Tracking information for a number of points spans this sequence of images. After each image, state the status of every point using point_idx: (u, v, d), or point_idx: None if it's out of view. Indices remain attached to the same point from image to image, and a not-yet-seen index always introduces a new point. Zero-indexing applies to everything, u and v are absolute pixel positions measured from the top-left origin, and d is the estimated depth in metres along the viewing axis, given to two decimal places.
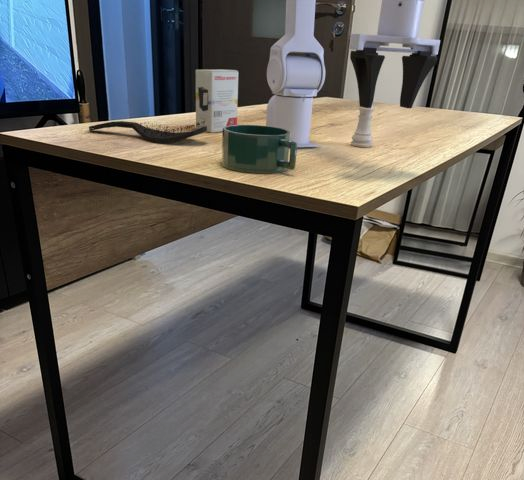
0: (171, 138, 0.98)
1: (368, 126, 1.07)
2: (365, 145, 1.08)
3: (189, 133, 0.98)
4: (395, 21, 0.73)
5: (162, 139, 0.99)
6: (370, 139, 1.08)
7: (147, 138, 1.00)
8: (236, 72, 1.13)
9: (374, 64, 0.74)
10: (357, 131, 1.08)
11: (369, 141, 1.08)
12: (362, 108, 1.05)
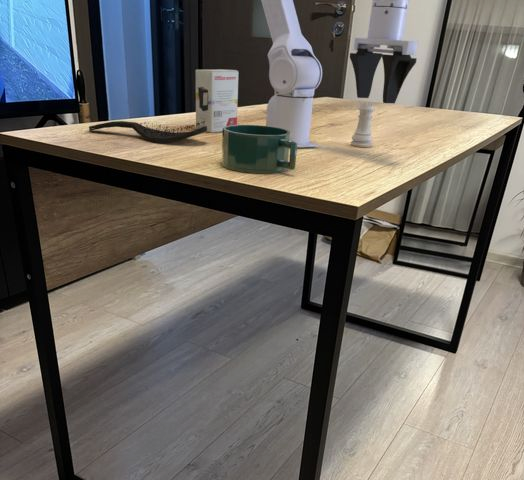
0: (171, 138, 0.98)
1: (368, 126, 1.07)
2: (365, 145, 1.08)
3: (189, 133, 0.98)
4: (403, 28, 0.87)
5: (162, 139, 0.99)
6: (370, 139, 1.08)
7: (147, 138, 1.00)
8: (236, 72, 1.13)
9: None
10: (357, 131, 1.08)
11: (369, 141, 1.08)
12: (362, 108, 1.05)
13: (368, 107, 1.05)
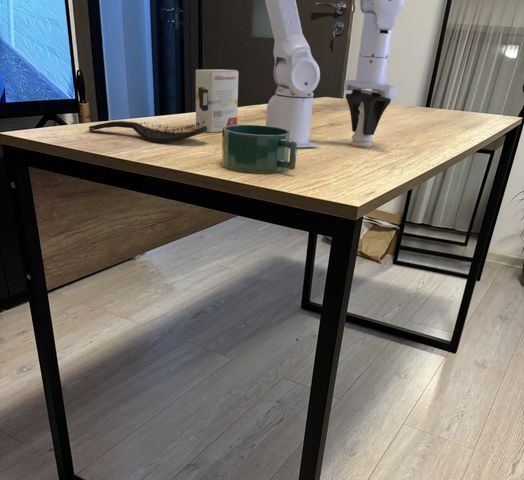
0: (171, 138, 0.98)
1: None
2: (365, 145, 1.08)
3: (189, 133, 0.98)
4: None
5: (162, 139, 0.99)
6: (370, 139, 1.08)
7: (147, 138, 1.00)
8: (236, 72, 1.13)
9: None
10: (357, 131, 1.08)
11: (369, 141, 1.08)
12: (362, 108, 1.05)
13: None
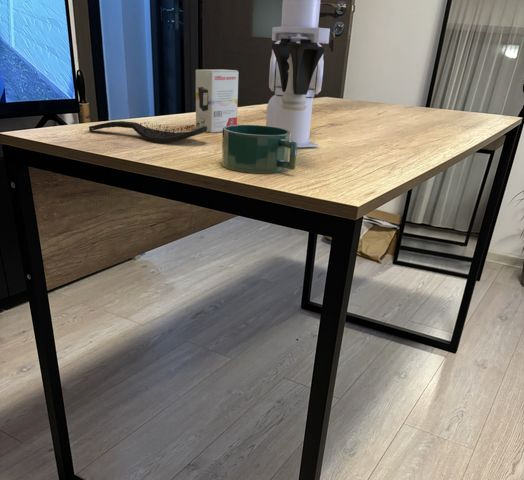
0: (171, 138, 0.98)
1: None
2: (297, 108, 0.87)
3: (189, 133, 0.98)
4: (318, 15, 0.81)
5: (162, 139, 0.99)
6: (303, 100, 0.87)
7: (147, 138, 1.00)
8: (236, 72, 1.13)
9: None
10: (287, 90, 0.87)
11: (302, 103, 0.87)
12: (291, 60, 0.84)
13: None
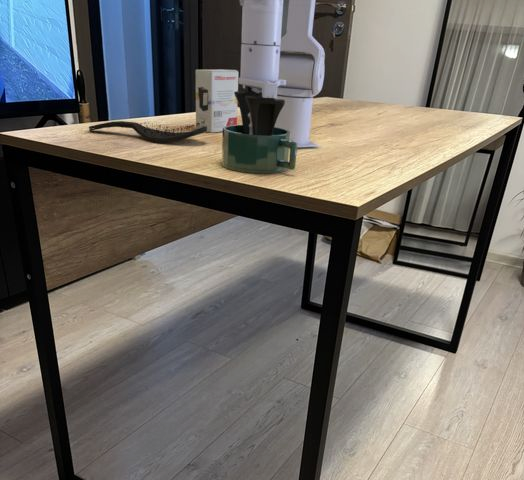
0: (171, 138, 0.98)
1: None
2: None
3: (189, 133, 0.98)
4: (275, 67, 0.78)
5: (162, 139, 0.99)
6: None
7: (147, 138, 1.00)
8: (236, 72, 1.13)
9: None
10: None
11: None
12: (250, 115, 0.82)
13: None
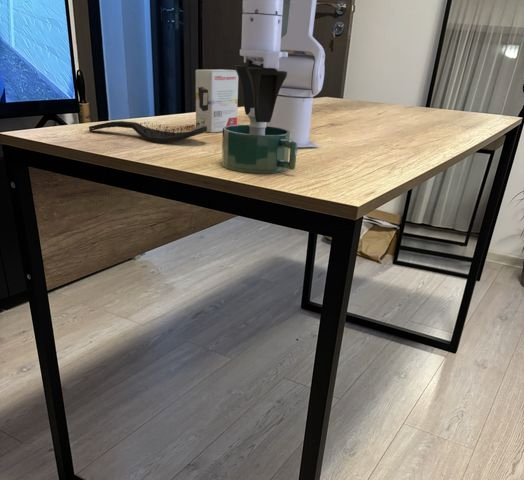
0: (171, 138, 0.98)
1: None
2: None
3: (189, 133, 0.98)
4: (277, 37, 0.76)
5: (162, 139, 0.99)
6: None
7: (147, 138, 1.00)
8: (236, 72, 1.13)
9: None
10: None
11: None
12: (250, 115, 0.82)
13: None
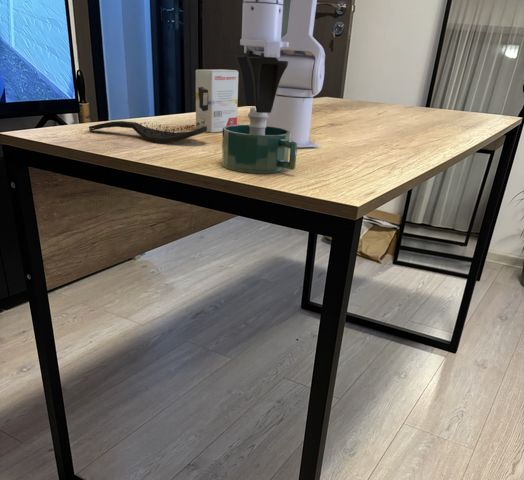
0: (171, 138, 0.98)
1: None
2: None
3: (189, 133, 0.98)
4: (278, 27, 0.75)
5: (162, 139, 0.99)
6: None
7: (147, 138, 1.00)
8: (236, 72, 1.13)
9: None
10: None
11: None
12: (250, 115, 0.82)
13: (256, 114, 0.81)
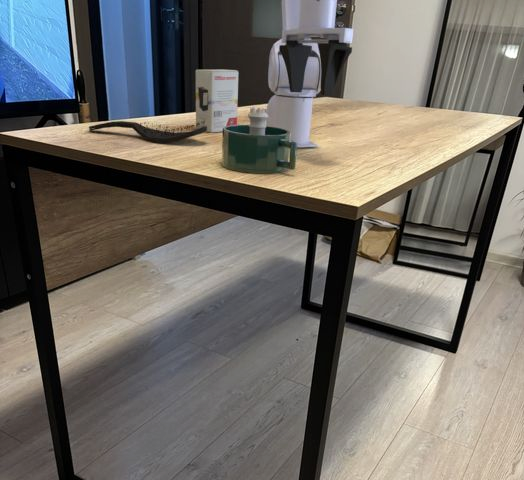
0: (171, 138, 0.98)
1: None
2: None
3: (189, 133, 0.98)
4: None
5: (162, 139, 0.99)
6: None
7: (147, 138, 1.00)
8: (236, 72, 1.13)
9: None
10: None
11: None
12: (250, 115, 0.82)
13: (256, 114, 0.81)
